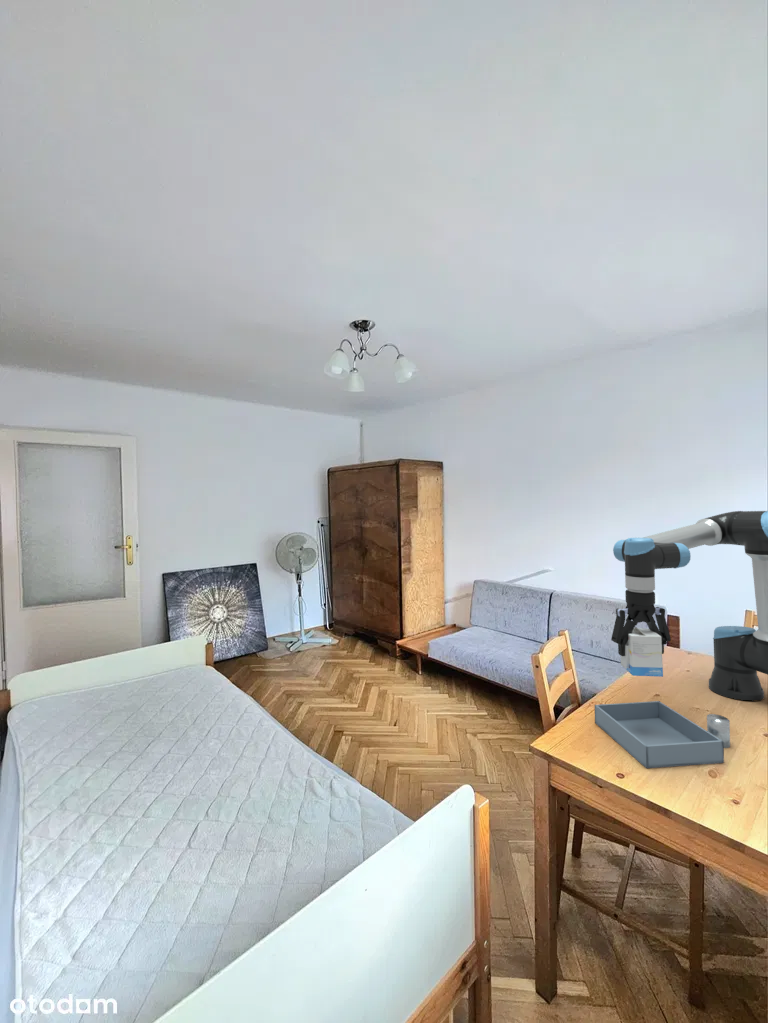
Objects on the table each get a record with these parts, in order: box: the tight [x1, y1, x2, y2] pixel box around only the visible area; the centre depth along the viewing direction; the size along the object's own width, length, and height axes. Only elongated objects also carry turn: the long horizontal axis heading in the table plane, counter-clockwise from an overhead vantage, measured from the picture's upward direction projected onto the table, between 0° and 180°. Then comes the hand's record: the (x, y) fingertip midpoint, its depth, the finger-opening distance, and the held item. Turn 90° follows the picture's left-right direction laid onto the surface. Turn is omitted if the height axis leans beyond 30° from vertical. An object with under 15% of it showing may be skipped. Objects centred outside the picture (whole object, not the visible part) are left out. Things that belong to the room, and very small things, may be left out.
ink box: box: [622, 626, 664, 678], centre depth 125 cm, size 9×8×13 cm
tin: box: [706, 713, 731, 749], centre depth 119 cm, size 5×5×7 cm
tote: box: [594, 700, 725, 769], centre depth 121 cm, size 21×23×6 cm
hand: (641, 665), depth 125 cm, fingers closed on ink box, 9 cm apart
